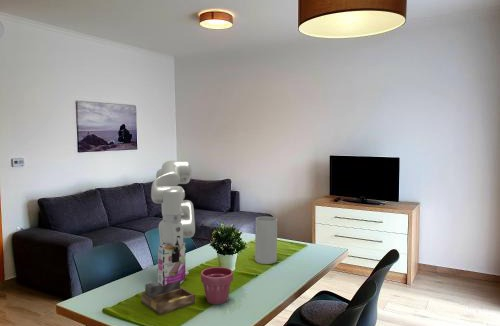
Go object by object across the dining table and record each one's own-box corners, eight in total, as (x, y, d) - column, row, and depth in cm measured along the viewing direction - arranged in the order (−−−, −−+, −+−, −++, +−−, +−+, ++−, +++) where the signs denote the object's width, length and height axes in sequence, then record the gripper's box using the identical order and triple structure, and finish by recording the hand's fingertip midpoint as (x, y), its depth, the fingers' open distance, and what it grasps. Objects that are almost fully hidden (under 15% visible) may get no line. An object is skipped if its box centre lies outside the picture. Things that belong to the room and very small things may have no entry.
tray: (175, 292, 182) (175, 275, 181) (195, 303, 170) (195, 285, 169) (141, 302, 170) (141, 284, 170) (159, 315, 158) (159, 296, 158)
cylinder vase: (262, 256, 237) (263, 215, 235) (280, 260, 229) (281, 218, 228) (250, 261, 227) (251, 219, 225) (268, 266, 219) (269, 222, 217)
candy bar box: (163, 286, 161) (163, 247, 160) (157, 283, 165) (156, 245, 164) (186, 280, 169) (186, 242, 168) (179, 277, 173) (179, 240, 172)
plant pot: (203, 292, 181) (203, 265, 181) (233, 293, 181) (234, 266, 180) (198, 306, 167) (198, 277, 166) (231, 307, 167) (231, 278, 166)
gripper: (190, 220, 161) (190, 263, 163) (169, 213, 174) (169, 254, 175) (174, 222, 156) (174, 267, 158) (153, 215, 169) (154, 257, 170)
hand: (171, 259), depth 166 cm, fingers closed on candy bar box, 5 cm apart
